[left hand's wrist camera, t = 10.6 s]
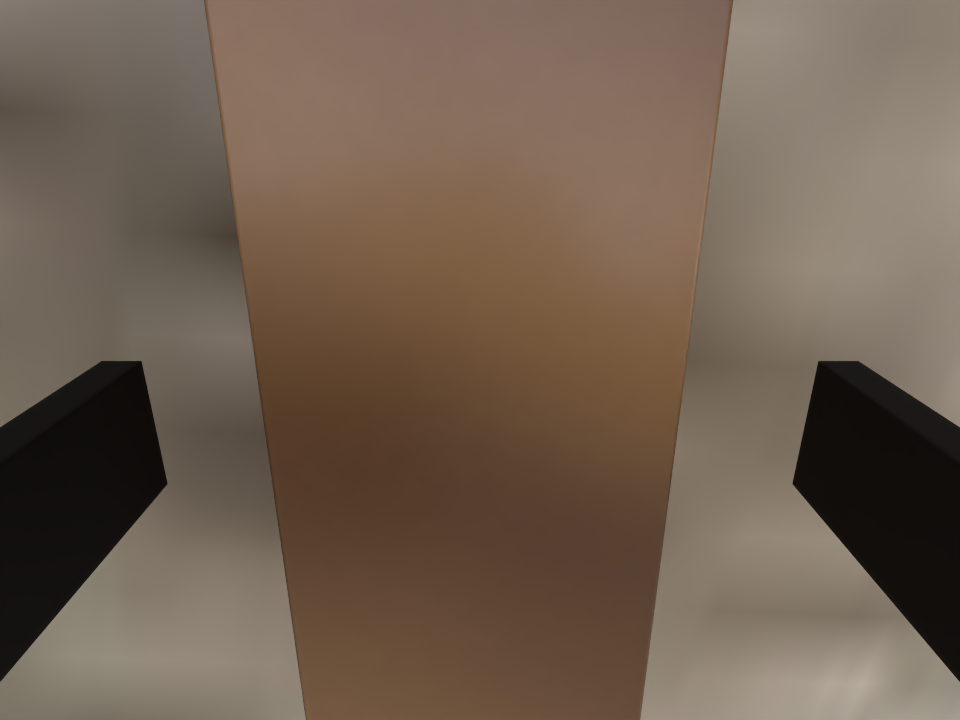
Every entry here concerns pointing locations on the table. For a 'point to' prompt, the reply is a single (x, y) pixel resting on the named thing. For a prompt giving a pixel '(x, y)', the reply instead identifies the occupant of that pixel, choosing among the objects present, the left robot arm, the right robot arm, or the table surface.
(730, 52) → the table surface
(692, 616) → the table surface
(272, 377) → the beam
